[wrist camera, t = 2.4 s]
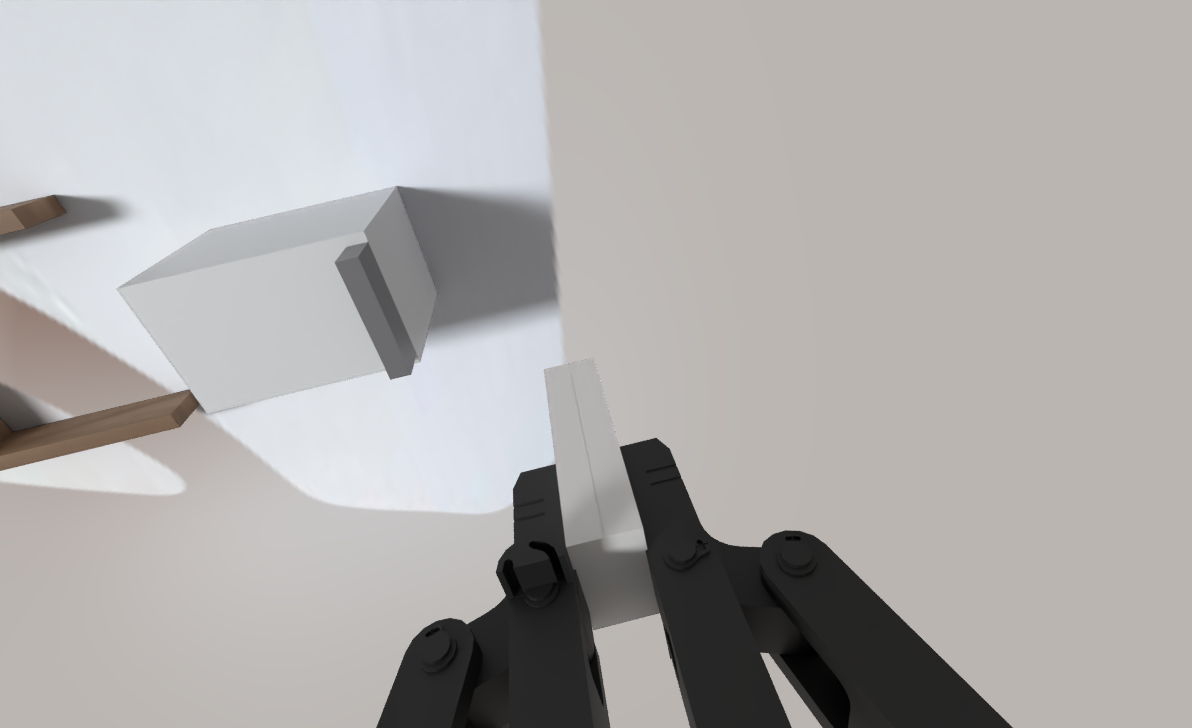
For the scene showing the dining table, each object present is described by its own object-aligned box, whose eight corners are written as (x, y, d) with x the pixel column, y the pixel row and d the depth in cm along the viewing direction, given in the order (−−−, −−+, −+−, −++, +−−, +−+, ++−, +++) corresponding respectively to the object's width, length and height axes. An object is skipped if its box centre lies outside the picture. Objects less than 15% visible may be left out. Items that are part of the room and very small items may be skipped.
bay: (-191, 250, 29) (-259, 270, 26) (53, 194, 29) (10, 209, 26) (9, 446, 36) (-28, 477, 33) (202, 400, 36) (179, 427, 34)
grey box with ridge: (210, 228, 31) (86, 308, 22) (396, 185, 31) (352, 245, 22) (271, 332, 35) (187, 438, 25) (437, 293, 35) (414, 383, 26)
